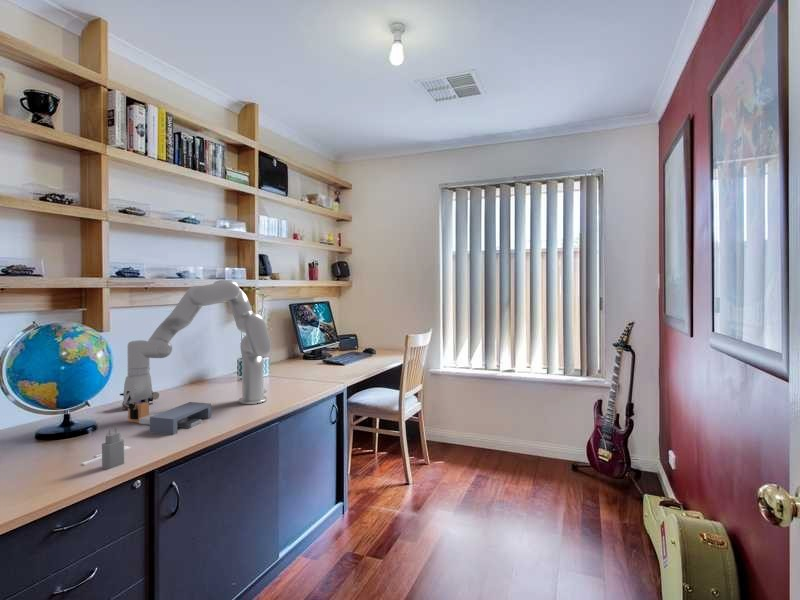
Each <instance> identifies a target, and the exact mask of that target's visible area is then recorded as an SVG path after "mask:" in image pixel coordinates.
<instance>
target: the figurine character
mask: <svg viewBox="0 0 800 600" xmlns="http://www.w3.org/2000/svg"><path fill="white" fill-rule="evenodd" d="M152 394H153V397H152V398H151V399H150V401H149V405H153V404H154V403H153V401H155V400H158V399H159V398H160V393H159V392H157V391H153V389H152ZM119 396H122V397H124V392H123V393H119ZM123 402H124V400H123ZM123 402H122V403H121V404H122V408H123V409H124V410H127V411H128V407H127V406H125V405H123ZM138 402H140V401H138Z"/></svg>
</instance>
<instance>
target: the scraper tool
mask: <svg viewBox="0 0 800 600" xmlns="http://www.w3.org/2000/svg"><path fill="white" fill-rule="evenodd" d="M149 403H150V402H149ZM149 403H147V402H138V403H137V409H138V419H130V409H129V408H128V410H127V414H128V415H127V419H128V421H127V422H128V423H137V424H140V425H149V426H150V417H151V416H154V415H155V414H150V404H149ZM133 405H134V403H133ZM186 418H188V417H185V418H183V419H180V420H178V421H177V422H179V421H182V420H184V419H186Z"/></svg>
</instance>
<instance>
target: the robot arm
mask: <svg viewBox="0 0 800 600" xmlns="http://www.w3.org/2000/svg"><path fill="white" fill-rule="evenodd" d="M224 302H226V303H228V306H229V307H230V310H231V313H232V315H233V318H234V322H235V326H236V328H237V330H239V331H240V332H241V333H244V334H246V335H244V336H243V338H242V339H241V340H240V344H239V345H240V355H241V365H242V367H241V377H242V379H241V381H242V382H241V389H242V390H241V392H242V393H241V397H240V398H239V399H238V403H239V404H243V405H257V403H258V404H262V402H263V403H266V402H267V400H268V397H267V396H265V393H268V389H267V388H264V368H265V367H264V358H263V357H265V356H267V355H268V354H269V353H270V352H271V349H272V341H271V337H270V333H269V330H268V327H267V323H266V321H265V319H264V318H263V317H262V315H260V314H259V313H257V312H256V313H255V312H254V311H253V309H252V305H251V303H250V300H249V298H248V296H247V294H246V293H245V292H244V290H243V289H241V288H240V286H239V284H238V283H237V282H236V281H234V280H232V279H220V280H216V281H214V282H213V283H211V284H205V285H204V284H203V285H193V286H190V287H189V288H188V289H187V290H186V291H185V294H183V296H182V297H181V298H180V299H179V301H178V303H177V304H176V305H175V307H174V309H173V310H171V313H170V314H169V315H168V316H167V317H166V318H164V320H163V321H162V322H161V323H160V324H159V325H158V327H157V328H156V329H155V330H154V332H153V333H152V335H151V336H150V337H149V338H148V340H141V339H139V340H132V341H129V342H128V344H127V376H125V379H124V380H125V381H124V384H123V385H124V386H123V393H124V396H123V401H124V402H122V403H123V405H125V406H127V407H128V408H129V409H130V419H138V409H137V403H138V401H140V402H147V403H150V402H151V401H150V399H151V398H152V397H153V394H152V390H153V385H152V376H151V373H150V369H151V367H150V359H164V358H166V357H169V356H170V355H171V354H172V352H173V346H172V344H171V340H172V339H173V338H174V337H175V335H176V334H178V333H179V332H180V331H181V330H184V329H185V328H187V327H188V326H189V325H190V324H191V323H192V321H193V320H194V319H195V317H196V316H197V314H199V312H200V310H201V308H202V307H205V306H206V307H207V306H210V305H211V306H212V305H216V304H220V303H224ZM133 403H134V405H133Z"/></svg>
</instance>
